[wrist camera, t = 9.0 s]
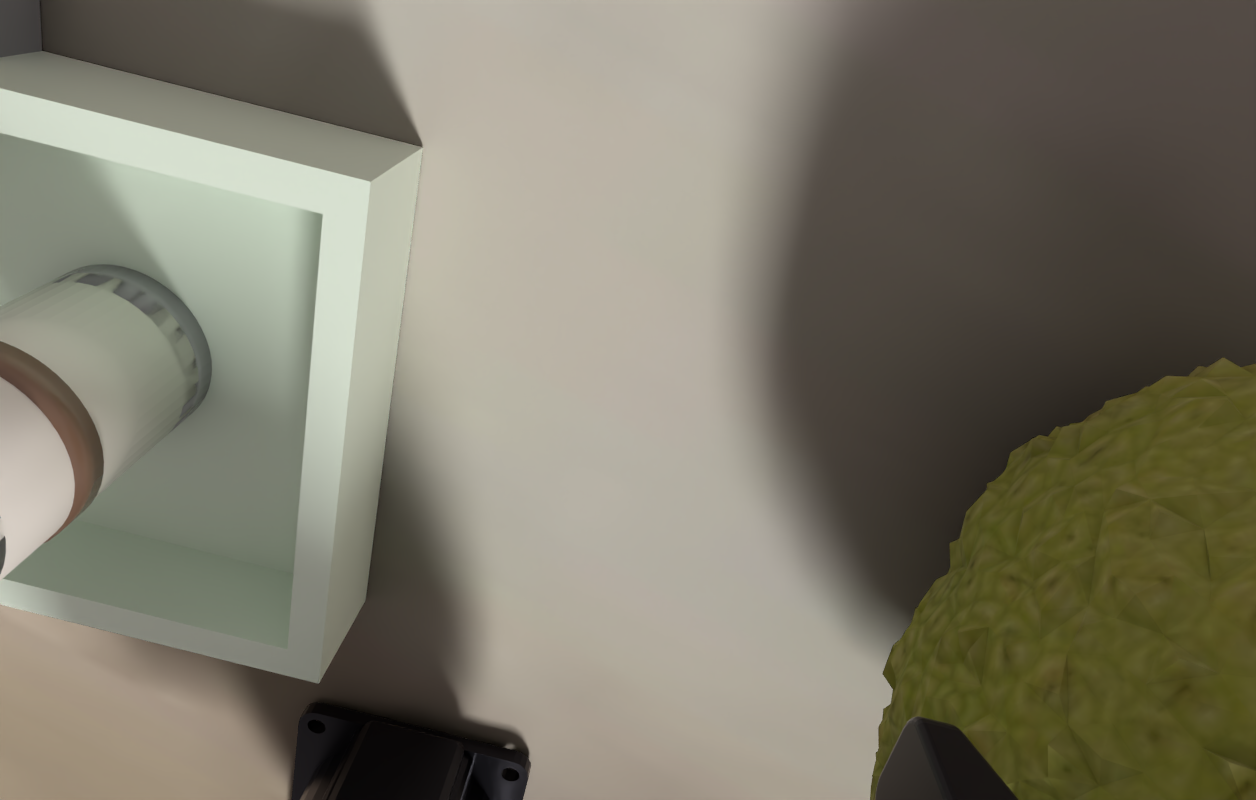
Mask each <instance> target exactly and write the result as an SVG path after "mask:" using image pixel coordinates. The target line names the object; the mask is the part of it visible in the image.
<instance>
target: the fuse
mask: <svg viewBox="0 0 1256 800" xmlns="http://www.w3.org/2000/svg"><path fill="white" fill-rule="evenodd" d="M211 375H212V360H211V354H210V349H209V346H208V343H207V339H206V337H205V335H204V333H203V330H202V328H201V326H200V325H199V323H198V321H197V320H196V318H195V316H194V315H193V314H192V312H191V311H190V310H189V308H188V307H187V306H186V305H185V304H184V303H183V302H182V301H181V300H180V298H178V297H177V296H176V295H175V294H174V293H173V292H172V291H171V290H169V289H168V288H167V287H165V286H164V285H162V284H161V283H160V282H158V281H156V280H155V279H153V278H151V277H149V276H147V275H145V274H143V273H141V272H138V271H136V270H133V269H130V268H126V267H122V266H117V265H108V264H97V265H88V266H84V267H80V268H77V269H75V270H72V271H70V272H68V273H66V274H64V275H62V276H60V277H58V278H56V279H54V280H52V281H50V282H48V283H46V284H44V285H42V286H40V287H38V288H36V289H34V290H32V291H30V292H28V293H26V294H24V295H22V296H20V297H18V298H16V299H14V300H12V301H10V302H8V303H6V304H4V305H2V306H0V581H1V580H2V579H3V578H4V577H5V576H6V575H7V574H9V573H10V572H11V571H12V570H13V569H14V568H15V567H17V566H18V565H19V564H20V563H21V562H22V561H23V560H25V559H26V558H27V557H28V556H29V555H30V554H32V553H33V552H34V551H35V550H36V549H37V548H38V547H40V546H41V545H42V544H43V543H45V542H47V541H49V540H51V539H52V538H53V537H55V536H56V535H58V534H59V533H60V532H61V531H62V530H63V529H64V528H66V527H67V526H68V525H69V524H70V523H71V522H72V521H74V520H75V519H76V518H77V517H78V516H79V515H80V514H81V513H83V512H84V511H85V510H86V509H87V508H88V507H89V506H90V504H91V503H92V502H93V500H94V499H95V498H96V497H97V496H98V495H99V494H100V493H101V492H103V491H104V490H105V489H106V488H107V487H108V486H109V485H111V484H112V483H113V482H114V481H115V480H116V479H117V478H119V477H120V476H121V475H122V474H123V473H124V472H126V471H127V470H128V469H129V468H130V467H131V466H132V465H134V464H135V463H136V462H137V461H138V460H139V459H140V458H142V457H143V456H144V455H145V454H146V453H147V452H148V451H150V450H151V449H152V448H153V447H154V446H155V445H156V444H158V443H159V442H160V441H161V440H162V439H163V438H164V437H166V436H167V435H168V434H169V433H170V432H171V431H173V430H174V429H175V428H176V427H177V426H178V425H179V424H181V423H182V422H183V421H184V420H185V419H186V418H187V417H189V416H190V415H191V414H192V413H193V412H194V411H195V410H196V409H197V408H198V407H199V406H200V404H201V403H202V401H203V400H204V399H205V396H206V394H207V392H208V390H209V386H210V382H211Z"/></svg>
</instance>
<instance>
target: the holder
mask: <svg viewBox="0 0 1256 800" xmlns="http://www.w3.org/2000/svg"><path fill="white" fill-rule="evenodd" d="M39 51H42V36H41V17H40V0H0V58H1V57H7V56H13V55H20V54H26V53H32V52H39Z"/></svg>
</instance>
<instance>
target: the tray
mask: <svg viewBox="0 0 1256 800" xmlns="http://www.w3.org/2000/svg"><path fill="white" fill-rule="evenodd" d="M422 152H423V147H420V146H416V145H412V144H408V143H404V142H400V141H396V140H392V139H388V138H384V137H381V136H377V135H373V134H369V133H365V132H361V131H357V130H353V129H349V128H345V127H341V126H337V125H333V124H329V123H325V122H321V121H317V120H313V119H309V118H305V117H301V116H298V115H294V114H290V113H286V112H282V111H278V110H274V109H270V108H266V107H262V106H258V105H254V104H250V103H246V102H242V101H238V100H234V99H230V98H226V97H222V96H218V95H215V94H211V93H207V92H203V91H199V90H195V89H191V88H187V87H183V86H179V85H175V84H171V83H167V82H163V81H159V80H155V79H151V78H147V77H143V76H139V75H136V74H132V73H128V72H124V71H120V70H116V69H112V68H108V67H104V66H100V65H96V64H92V63H88V62H84V61H80V60H76V59H72V58H68V57H64V56H60V55H56V54H53V53H49V52H45V51H39V52H32V53H26V54H20V55H13V56H7V57H1V58H0V306H2V305H4V304H6V303H8V302H10V301H12V300H14V299H16V298H18V297H20V296H22V295H24V294H26V293H28V292H30V291H32V290H34V289H36V288H38V287H40V286H42V285H44V284H46V283H48V282H50V281H52V280H54V279H56V278H58V277H60V276H62V275H64V274H66V273H68V272H70V271H72V270H75V269H77V268H80V267H84V266H88V265H97V264H108V265H117V266H122V267H126V268H130V269H133V270H136V271H138V272H141V273H143V274H145V275H147V276H149V277H151V278H153V279H155V280H156V281H158V282H160V283H161V284H162V285H164V286H165V287H167V288H168V289H169V290H171V291H172V292H173V293H174V294H175V295H176V296H177V297H178V298H180V300H181V301H182V302H183V303H184V304H185V305H186V306H187V307H188V308H189V310H190V311H191V312H192V314H193V315H194V316H195V318H196V320H197V321H198V323H199V325H200V326H201V328H202V330H203V333H204V335H205V337H206V339H207V343H208V346H209V349H210V354H211V360H212V375H211V382H210V386H209V390H208V392H207V394H206V396H205V399H204V400H203V401H202V403H201V404H200V406H199V407H198V408H197V409H196V410H195V411H194V412H193V413H192V414H191V415H190V416H189V417H187V418H186V419H185V420H184V421H183V422H182V423H181V424H179V425H178V426H177V427H176V428H175V429H174V430H173V431H171V432H170V433H169V434H168V435H167V436H166V437H164V438H163V439H162V440H161V441H160V442H159V443H158V444H156V445H155V446H154V447H153V448H152V449H151V450H150V451H148V452H147V453H146V454H145V455H144V456H143V457H142V458H140V459H139V460H138V461H137V462H136V463H135V464H134V465H132V466H131V467H130V468H129V469H128V470H127V471H126V472H124V473H123V474H122V475H121V476H120V477H119V478H117V479H116V480H115V481H114V482H113V483H112V484H111V485H109V486H108V487H107V488H106V489H105V490H104V491H103V492H101V493H100V494H99V495H98V496H97V497H96V498H95V499H94V500H93V502H92V503H91V504H90V506H89V507H88V508H87V509H86V510H85V511H84V512H83V513H81V514H80V515H79V516H78V517H77V518H76V519H75V520H74V521H72V522H71V523H70V524H69V525H68V526H67V527H66V528H64V529H63V530H62V531H61V532H60V533H59V534H58V535H56V536H55V537H53V538H52V539H51V540H49V541H47V542H45V543H43V544H42V545H41V546H40V547H38V548H37V549H36V550H35V551H34V552H33V553H32V554H30V555H29V556H28V557H27V558H26V559H25V560H23V561H22V562H21V563H20V564H19V565H18V566H17V567H15V568H14V569H13V570H12V571H11V572H10V573H9V574H7V575H6V576H5V577H4V578H3V579H2V580H1V581H0V605H4V606H8V607H12V608H16V609H20V610H24V611H28V612H32V613H36V614H40V615H44V616H48V617H52V618H56V619H60V620H64V621H69V622H73V623H77V624H81V625H85V626H89V627H93V628H97V629H101V630H105V631H109V632H113V633H117V634H121V635H125V636H129V637H133V638H137V639H141V640H145V641H149V642H153V643H157V644H161V645H165V646H169V647H173V648H177V649H181V650H185V651H189V652H193V653H197V654H201V655H205V656H209V657H213V658H217V659H221V660H225V661H229V662H233V663H237V664H241V665H245V666H249V667H253V668H257V669H261V670H266V671H270V672H274V673H278V674H282V675H286V676H290V677H294V678H298V679H302V680H306V681H310V682H314V683H318V684H319V683H320V681H321V679H322V677H323V675H324V674H325V672H326V670H327V668H328V667H329V665H330V663H331V661H332V659H333V658H334V656H335V654H336V652H337V651H338V649H339V647H340V645H341V643H342V642H343V640H344V638H345V636H346V635H347V633H348V631H349V629H350V627H351V626H352V624H353V622H354V620H355V619H356V617H357V615H358V613H359V611H360V610H361V608H362V606H363V604H364V603H365V601H366V594H367V586H368V578H369V570H370V562H371V554H372V547H373V539H374V531H375V523H376V515H377V507H378V499H379V491H380V483H381V475H382V468H383V460H384V452H385V444H386V436H387V428H388V420H389V412H390V404H391V397H392V389H393V381H394V373H395V365H396V357H397V349H398V341H399V333H400V325H401V318H402V310H403V302H404V294H405V286H406V278H407V270H408V262H409V254H410V246H411V239H412V231H413V223H414V215H415V207H416V199H417V191H418V183H419V175H420V167H421V160H422Z"/></svg>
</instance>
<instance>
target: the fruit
mask: <svg viewBox="0 0 1256 800" xmlns="http://www.w3.org/2000/svg"><path fill="white" fill-rule="evenodd" d="M949 545H950V569H949V571H948V573H947V575H945V576H942V577H940V578H938V579H936V580H935V582H934V583H933V585H932V586H931V587H930V589H929V590H928V592H927V593H926V595H925V596H924V598H923V599H922V600H921V602H920V603H919V606H918V608H915V611H914V615H913V619H912V622H911V624H910V626H909V627H908V628H907V630H906V631H905V633H904V635H903V636H902V638H901V639H900V640H899V641H898V642H896V643H895V644H894V645H893V647H892V649H891V652H890V655H889V658H888V660H887V663H886V666H885V668H884V671H883V675H884V677H885V678H886V680H887V681H888V683H889V684H890V686H891V687H892V689H893V693H892V700H891V704H890V705H889V706H887V707H886V708H884V709H883V720H882V722H881V724H880V725H879V749H878V752H876V762H875V766H874V771H873V775H872V776H873V778H872V784H871V795H870V800H875V794H876V788H877V784H878V780H879V777H880V775H881V773H882V771H883V769H884V766H885V764H886V762H887V760H888V758H889V756H890V754H891V752H892V750H893V748H894V746H895V744H896V742H897V740H898V738H899V736H900V734H901V732H902V730H903V728H904V726H905V725H906V723H907V722H908V721H909V720H910V719H911V718H913V717H917V716H919V717H924V718H928V719H932V720H936V721H941V722H945V723H949V724H952V725H954V726H956V727H958V728H959V729H960V730H961V731H962V732H963V733H964V734H965V735H966V737H967V738H968V739H969V740H970V741H971V743H972V744H973V745H974V746H975V747H976V749H977V750H978V751H979V752H980V753H981V755H982V756H983V757H984V758H985V759H986V761H987V762H988V763H989V764H990V765H991V767H992V768H993V769H994V770H995V771H996V773H997V774H998V775H999V776H1000V778H1001V779H1002V780H1003V781H1004V782H1005V784H1006V785H1007V786H1008V787H1009V788H1010V790H1011V791H1012V792H1013V793H1014V794H1015V796H1016V797H1017V798H1018V799H1019V800H1256V364H1252V365H1248V366H1244V367H1239V366H1238V365H1236V364H1234V363H1233V362H1231V361H1229V360H1227V359H1226V358H1224V357H1223V358H1221V359H1220V360H1218V361H1216V362H1215V363H1213V364H1212V365H1210V366H1209V367H1202V366H1198V367H1197V368H1196V369H1195V370H1194V371H1193V372H1191V373H1190V374H1189V375H1188V376H1187V377H1183V376H1165V377H1164V378H1162V379H1160V380H1159V381H1157V382H1156V383H1154V384H1153V385H1151V386H1150V387H1147V386H1146V387H1144V388H1143V389H1141V390H1140V391H1139V392H1137V393H1134V394H1130V395H1127V396H1123V397H1119V398H1116V399H1112V400H1108V401H1106V402H1105V404H1104V406H1103V408H1102V409H1101V410H1099V411H1097V412H1095V413H1093V414H1091V415H1089V416H1088V417H1087V418H1086V419H1085V420H1084V421H1083V422H1079V423H1072V424H1070V425H1069V426H1063V427H1058V426H1056V427H1055V429H1054V430H1053V431H1052V432H1051V433H1050V434H1049V436H1042V435H1038V436H1036V437H1035V438H1032V439H1031V440H1030V441H1028V442H1027V443H1025V444H1023V445H1022V446H1020V447H1019V448H1017V449H1015V450H1014V451H1012V452H1011V453H1010V456H1009V459H1008V463H1007V466H1006V469H1005V471H1004V472H1003V474H1001V475H1000V476H999V477H998V478H997V479H996V480H994V481H992V482H989V483H987V490H986V491H985V492H984V493H983V494H982V495H981V496H980V497H979V498H978V499H977V501H976V502H975V503H974V504H973V505H972V506H971V507H970V508H969V509H968V510H967V511H966V514H965V518H964V522H963V526H962V530H961V534H960V538H959V539H958V540H955V541H953V542H951V543H949Z"/></svg>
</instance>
